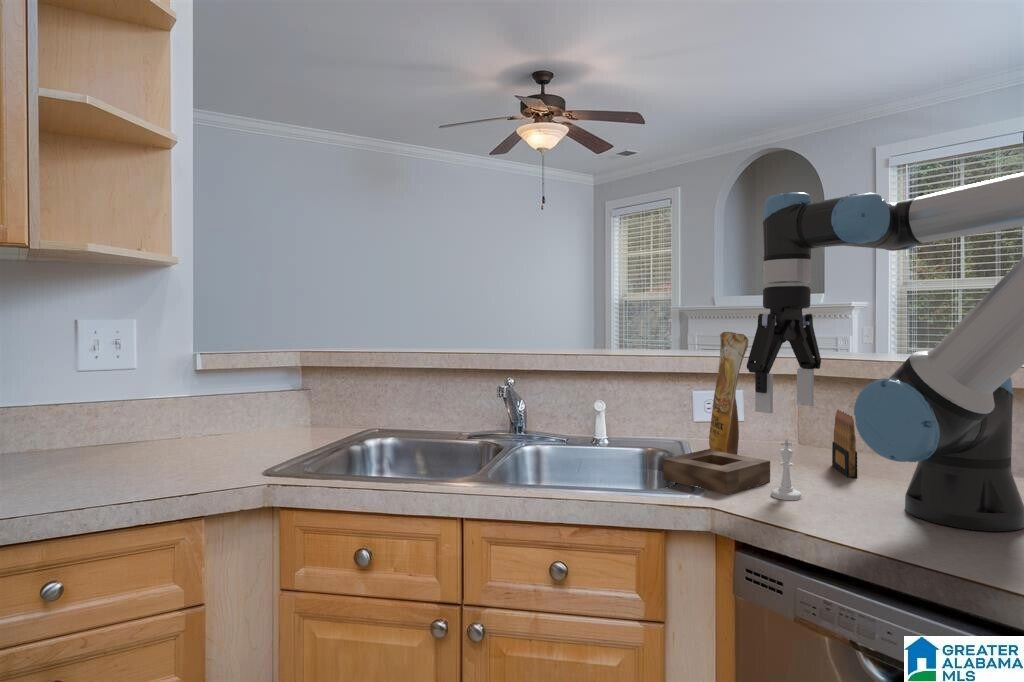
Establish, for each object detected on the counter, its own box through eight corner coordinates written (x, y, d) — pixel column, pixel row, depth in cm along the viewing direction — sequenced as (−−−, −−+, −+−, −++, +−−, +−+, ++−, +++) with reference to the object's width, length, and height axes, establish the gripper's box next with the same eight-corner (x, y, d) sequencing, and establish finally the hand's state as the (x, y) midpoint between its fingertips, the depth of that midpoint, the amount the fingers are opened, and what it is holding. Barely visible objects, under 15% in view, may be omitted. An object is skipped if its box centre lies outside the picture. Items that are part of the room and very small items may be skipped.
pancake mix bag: (734, 446, 153) (734, 331, 152) (749, 463, 134) (749, 332, 134) (705, 445, 154) (705, 331, 154) (717, 462, 136) (717, 332, 135)
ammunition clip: (831, 465, 132) (832, 408, 132) (841, 465, 132) (841, 408, 131) (847, 477, 122) (847, 416, 121) (857, 478, 121) (857, 416, 121)
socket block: (770, 481, 119) (770, 460, 119) (727, 494, 110) (727, 472, 110) (706, 468, 130) (706, 449, 130) (663, 479, 121) (663, 458, 121)
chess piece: (805, 501, 106) (805, 442, 106) (774, 499, 107) (774, 441, 107) (797, 493, 111) (798, 436, 111) (768, 491, 112) (768, 436, 112)
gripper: (801, 288, 119) (800, 400, 119) (725, 284, 103) (724, 412, 104) (842, 286, 113) (841, 404, 114) (767, 282, 97) (766, 418, 98)
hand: (785, 408), depth 109 cm, fingers open, 13 cm apart
